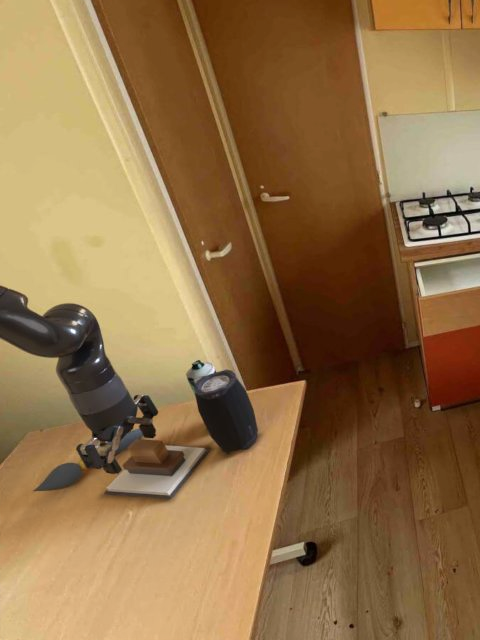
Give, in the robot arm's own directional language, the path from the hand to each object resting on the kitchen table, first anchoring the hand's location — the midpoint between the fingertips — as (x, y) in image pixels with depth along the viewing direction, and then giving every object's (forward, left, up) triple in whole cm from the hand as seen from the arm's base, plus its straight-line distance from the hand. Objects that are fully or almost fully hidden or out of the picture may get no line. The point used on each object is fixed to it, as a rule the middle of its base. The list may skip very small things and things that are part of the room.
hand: (134, 453), depth 90 cm
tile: (+1, +2, -8) cm, 9 cm away
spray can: (+6, +16, -9) cm, 19 cm away
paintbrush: (-15, +3, -9) cm, 17 cm away
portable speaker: (+14, +11, -9) cm, 20 cm away
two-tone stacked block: (+1, +2, -7) cm, 7 cm away
